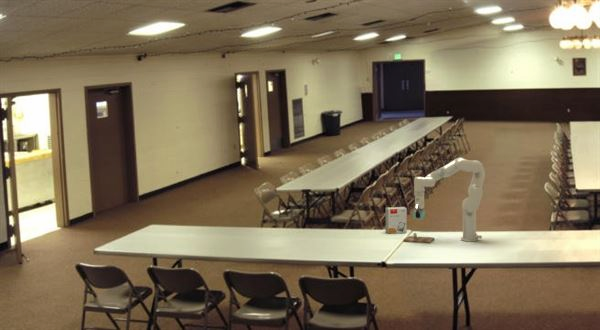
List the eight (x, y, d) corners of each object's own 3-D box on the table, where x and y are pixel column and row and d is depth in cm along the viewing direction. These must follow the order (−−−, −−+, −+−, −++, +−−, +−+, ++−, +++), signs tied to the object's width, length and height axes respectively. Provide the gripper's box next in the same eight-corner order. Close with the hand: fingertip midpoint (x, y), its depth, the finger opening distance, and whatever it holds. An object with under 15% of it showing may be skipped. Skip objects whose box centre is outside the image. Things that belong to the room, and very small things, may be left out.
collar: (425, 217, 536) (425, 209, 535) (422, 219, 530) (422, 211, 529) (415, 217, 539) (416, 209, 538) (413, 218, 533) (413, 210, 532)
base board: (434, 239, 539) (434, 232, 538) (429, 243, 526) (429, 236, 526) (408, 237, 547) (408, 230, 547) (403, 241, 535) (403, 234, 534)
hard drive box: (387, 234, 563) (387, 209, 561) (385, 232, 571) (384, 207, 569) (407, 232, 565) (406, 208, 563) (404, 230, 573) (403, 206, 571)
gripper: (421, 195, 523) (421, 219, 525) (427, 191, 538) (427, 215, 541) (411, 194, 526) (411, 218, 528) (417, 191, 542) (417, 214, 544)
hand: (419, 216), depth 534 cm, fingers closed on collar, 7 cm apart
